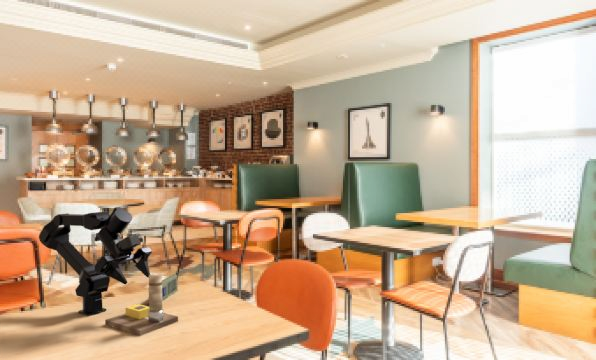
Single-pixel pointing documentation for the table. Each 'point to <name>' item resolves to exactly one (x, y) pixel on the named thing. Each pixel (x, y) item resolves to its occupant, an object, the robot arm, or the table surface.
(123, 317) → the subfloor panel
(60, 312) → the table surface
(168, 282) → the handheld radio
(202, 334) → the table surface
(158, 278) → the beige ringed cylinder
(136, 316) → the block
